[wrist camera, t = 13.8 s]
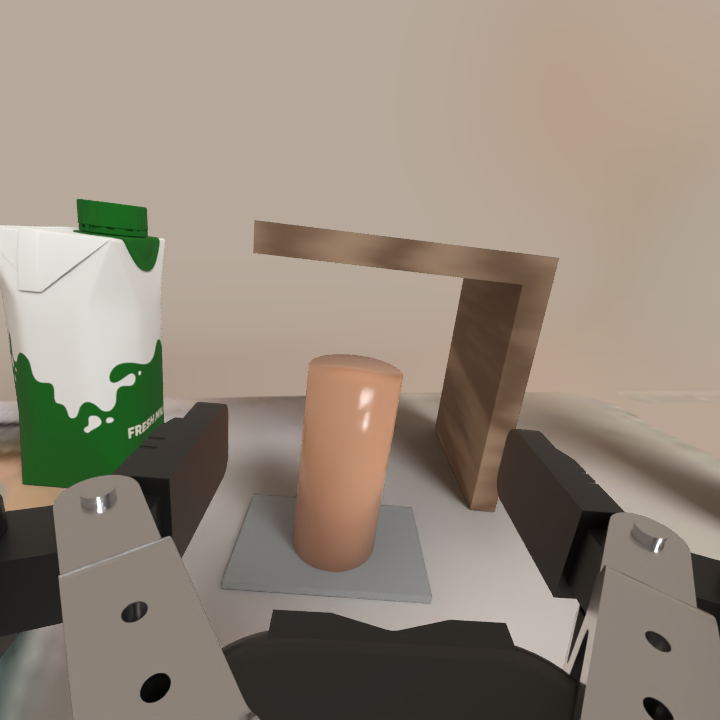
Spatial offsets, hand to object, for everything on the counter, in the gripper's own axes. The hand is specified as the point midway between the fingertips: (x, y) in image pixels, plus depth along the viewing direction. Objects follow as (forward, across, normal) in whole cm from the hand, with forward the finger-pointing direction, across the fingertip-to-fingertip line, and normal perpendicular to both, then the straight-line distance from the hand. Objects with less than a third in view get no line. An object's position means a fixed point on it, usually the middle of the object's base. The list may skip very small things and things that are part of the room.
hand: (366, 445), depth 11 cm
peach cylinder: (+12, 0, +14) cm, 18 cm away
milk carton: (+18, +19, +14) cm, 30 cm away
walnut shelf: (+24, -3, +15) cm, 28 cm away
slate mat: (+12, 0, +14) cm, 18 cm away
